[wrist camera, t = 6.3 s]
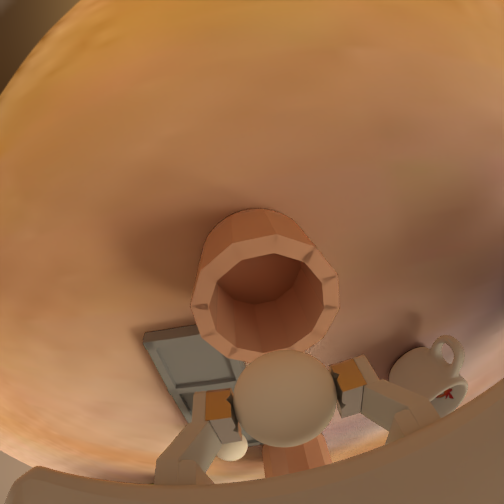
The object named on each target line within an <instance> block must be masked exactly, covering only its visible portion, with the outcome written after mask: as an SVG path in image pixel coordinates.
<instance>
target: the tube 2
mask: <svg viewBox="0 0 504 504" xmlns="http://www.w3.org/2000/svg"><path fill="white" fill-rule="evenodd" d="M262 456H263V463H264V471H265V478H270V477H275V476H281V475H286V474H291V473H295V472H300V471H304V470H308V469H312V468H316V467H320V466H324V465H327V464H331V463H332V461H331V457H330V454H329V451H328V448H327V444H326V441H325V438H324V437H323V434H322V433H320V434H319V435H318V436H316V437H315V438H313V439H312V440H310V441H308V442H306V443H304V444H301V445H298V446H293V447H274V446H269V445H266V444H263V446H262Z"/></svg>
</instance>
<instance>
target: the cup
mask: <svg viewBox="0 0 504 504" xmlns="http://www.w3.org/2000/svg"><path fill="white" fill-rule="evenodd" d="M444 343H446V344H448V345H449V346H450V347H451V348H452V350H453V353H454V359H453V362H452V364H451V365H450V364H449V363H447V362H446V361H445V359H444V358H443V356H442V346H443V344H444ZM464 357H465V353H464V349H463V347H462V345H461V343H460V342H459V341H458V340H457V339H455V338H454V337H452V336H449V335H443V336H440V337H439V338H437V339H436V340H435V342H434V343H433V345H432V347H431V349H429V348H427V347H418V348H415V349H412V350H410V351H409V352H407V353H405V354H404V355H403V356H402V357H401V358H399V359H398V360H397V362H396V363H395V364H394V366H393V367H392V369H391V371H390V374H389V382H391V383H393V384H396V385H398V386H400V387H403V388H405V389H407V390H410V391H412V392H414V393H417V394H419V395H421V396H424V397H426V398H428V399H429V401H430V402H431V404H432V405H433V407H434V408H435V410H436V411H437V413H438V414H439V416H440V417H441V418H443V417H444V416H446V415H448V414H450V413H451V412H453V411H454V410H455V409H456V408H457V407H458V406H459V404H460V403H461V402H462V400H463V399H464V397H465V395H466V393H467V390H468V384H467V382H466V380H465V379H464V378H463V377H462V376H461V375H459V372H460V369H461V367H462V365H463V362H464Z"/></svg>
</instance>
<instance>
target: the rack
mask: <svg viewBox="0 0 504 504" xmlns="http://www.w3.org/2000/svg"><path fill="white" fill-rule="evenodd" d="M143 344H144V346H145V349H146V350H148V352H149V354H150V356H151V358H152V360H153V362H154V364H155V366H156V368H157V370H158V372H159V374H160V375H161V377H162V379H163V381H164V383H165V385H166V386H167V388H168V389H167V390H168V392H169V393H170V395H172V397H173V399H174V400H175V402H176V404H177V405H178V407H179V409H180V410H181V412H182V414H183V415H184V417H185V419H186V420H187V422H188V423H192V409H193V396H194V393H195V392H201V391H208V390H217V389H224V388H231V389H232V391H233V393H234V388H235V385H236V382H237V380H238V378H239V376H240V374H241V373H242V372H243V370H244V369H245V368H246V366H245V363H244V361H239V360H234V359H230V358H227V357H225V356H224V355H223V354H222V353H220V352H219V351H218V350H216V349H215V348H214V347H213V346H211V345H210V344H209V343H208V342H206V341H205V340H204V339H203V338H201V335H200V332H199V330H198V327H197V325H192V326H186V327H180V328H173V329H167V330H160V331H154V332H147V333H145V335H144V338H143ZM239 424H240V423H239ZM240 427H241V425H240ZM241 433H242V434H243V435H244V436H245V438H246V440H247V443H248V447H250V446H256V445H263V443H261V442H259V441H257V440H256V439H254V438H253V437H251V436H250V435H249V434H248V433H247V432H246V431H245V430H244V429H243V428H242V427H241Z"/></svg>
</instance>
